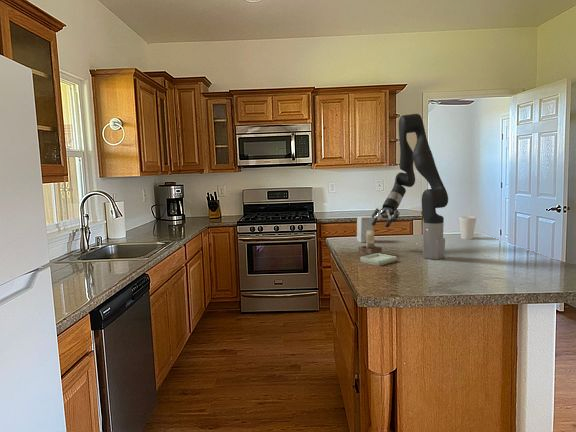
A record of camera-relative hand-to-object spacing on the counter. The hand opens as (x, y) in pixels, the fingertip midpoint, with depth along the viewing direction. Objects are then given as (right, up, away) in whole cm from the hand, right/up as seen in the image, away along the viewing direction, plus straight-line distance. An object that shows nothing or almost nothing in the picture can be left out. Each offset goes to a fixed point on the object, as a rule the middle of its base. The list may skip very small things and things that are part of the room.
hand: (379, 225), depth 211 cm
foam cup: (+60, -9, +34) cm, 70 cm away
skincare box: (-2, -10, +31) cm, 32 cm away
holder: (-6, -14, -4) cm, 16 cm away
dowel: (-6, -14, -4) cm, 16 cm away
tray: (-5, -16, -20) cm, 26 cm away
